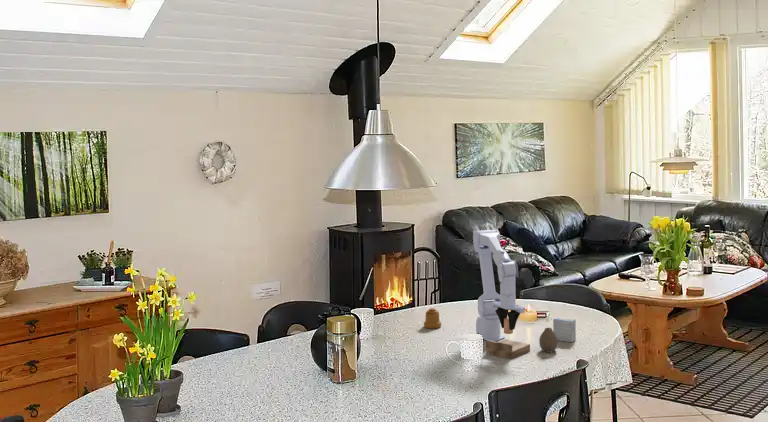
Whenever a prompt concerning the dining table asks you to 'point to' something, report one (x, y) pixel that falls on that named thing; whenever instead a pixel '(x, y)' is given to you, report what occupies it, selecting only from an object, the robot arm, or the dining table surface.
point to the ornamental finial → (432, 319)
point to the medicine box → (565, 329)
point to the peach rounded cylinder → (507, 326)
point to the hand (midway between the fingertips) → (508, 328)
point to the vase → (548, 340)
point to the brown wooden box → (506, 348)
